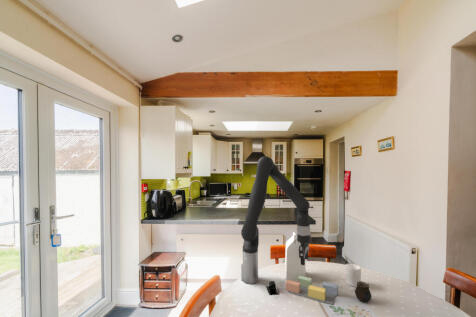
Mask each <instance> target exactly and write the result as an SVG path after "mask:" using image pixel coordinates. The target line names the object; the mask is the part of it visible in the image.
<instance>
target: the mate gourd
mask: <svg viewBox="0 0 476 317" xmlns="http://www.w3.org/2000/svg"><path fill="white" fill-rule="evenodd" d="M354 295H355V297H356V299H357V300H358V301H360V302H362V303H366V304H367V303H369V302H370V301H371V299H372V292H371V291H370V283H367V282H365V281H358V282H357V287H355V289H354Z"/></svg>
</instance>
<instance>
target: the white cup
mask: <svg viewBox="0 0 476 317" xmlns="http://www.w3.org/2000/svg"><path fill="white" fill-rule="evenodd" d="M345 274H346V283H347V285H349V286H350V287H354V288H357V282H358V281H361V279H362V267H361V266H360V265H358V264H355V263H346V264H345Z"/></svg>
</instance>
